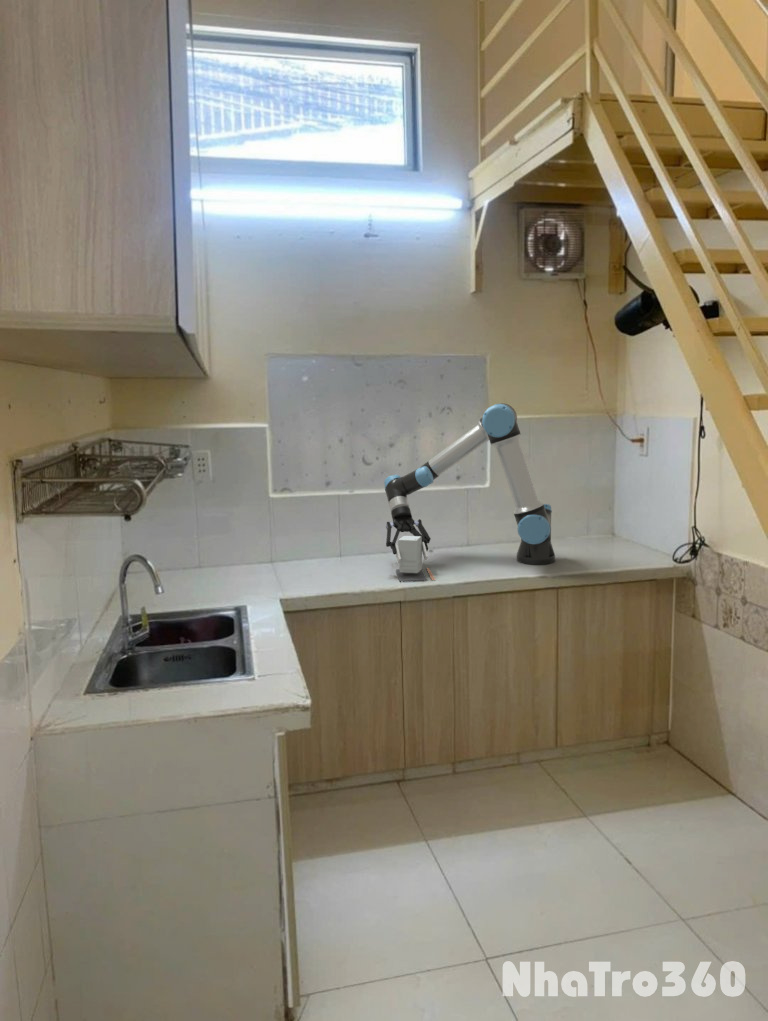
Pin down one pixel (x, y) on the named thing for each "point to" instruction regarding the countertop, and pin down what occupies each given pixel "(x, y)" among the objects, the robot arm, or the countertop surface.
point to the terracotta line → (430, 574)
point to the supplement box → (410, 554)
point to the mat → (411, 576)
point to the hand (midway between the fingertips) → (412, 559)
